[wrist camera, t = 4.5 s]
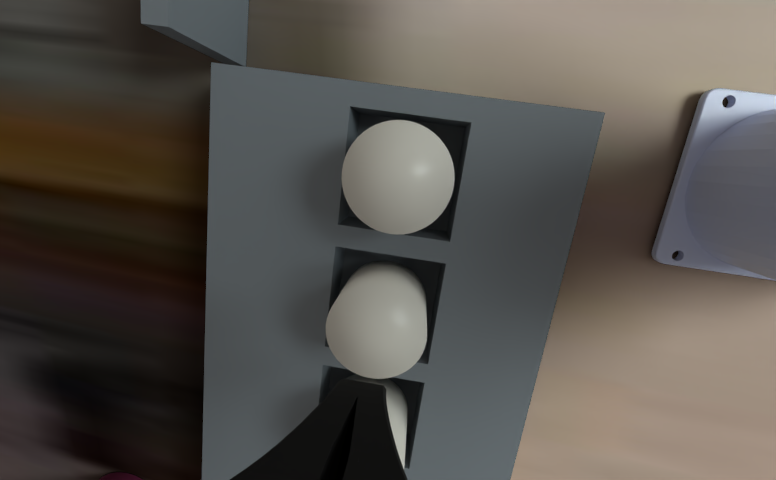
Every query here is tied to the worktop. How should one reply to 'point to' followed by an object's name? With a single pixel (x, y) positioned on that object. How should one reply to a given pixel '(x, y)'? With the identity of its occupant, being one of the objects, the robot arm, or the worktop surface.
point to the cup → (120, 476)
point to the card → (202, 25)
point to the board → (364, 245)
